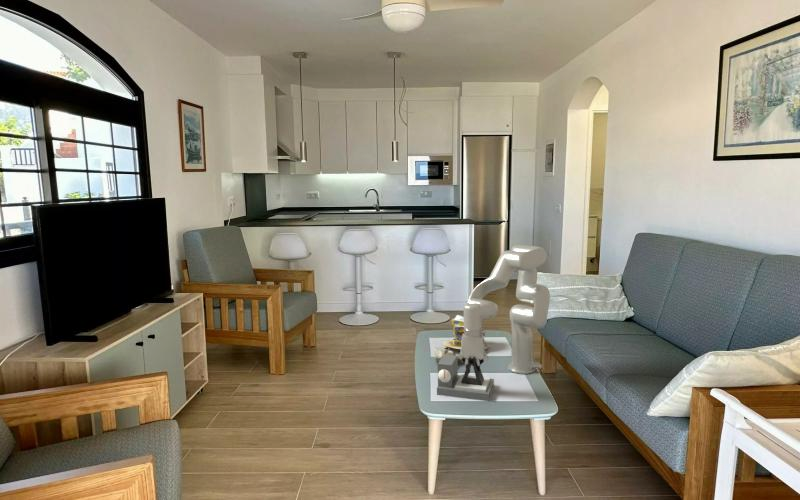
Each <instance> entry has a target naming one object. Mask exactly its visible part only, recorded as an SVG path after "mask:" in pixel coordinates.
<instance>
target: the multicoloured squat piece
mask: <svg viewBox="0 0 800 500" xmlns="http://www.w3.org/2000/svg"><path fill="white" fill-rule="evenodd" d="M450 324H451V325H452V326H453V336H455V337H454V338H453V339H451V340H445V341H443V342H442V345H443V346H445V347H446V348H451V349H456V351H459V350H461V340H462V335H463V334H464V316H462V315H460V314H457V315H456V316H455V317H453V318H452V319H451V321H450ZM483 335H484V337H485V335H486V333H485V334H484V333H483ZM488 348H489V345H487V344H486V343H485V350H487V349H488Z"/></svg>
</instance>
